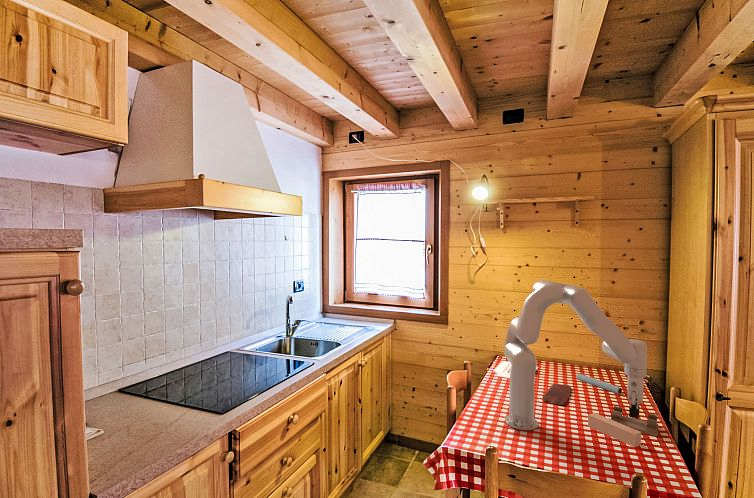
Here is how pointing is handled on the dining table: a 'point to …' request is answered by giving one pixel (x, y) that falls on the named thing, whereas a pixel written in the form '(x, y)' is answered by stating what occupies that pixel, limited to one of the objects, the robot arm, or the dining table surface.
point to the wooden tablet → (557, 394)
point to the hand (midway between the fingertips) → (634, 415)
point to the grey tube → (599, 383)
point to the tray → (504, 369)
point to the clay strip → (615, 429)
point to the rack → (636, 422)
